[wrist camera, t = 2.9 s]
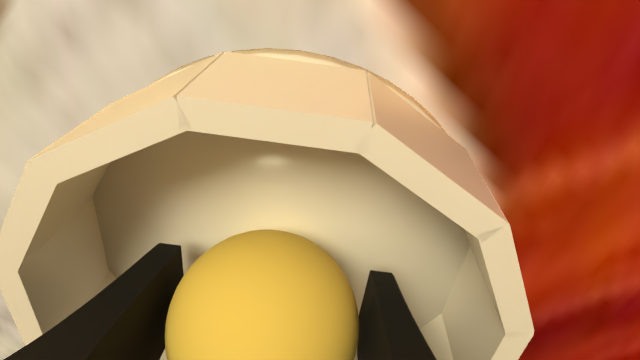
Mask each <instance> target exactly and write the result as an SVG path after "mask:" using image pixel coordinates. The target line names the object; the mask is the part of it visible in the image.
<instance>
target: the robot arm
mask: <svg viewBox="0 0 640 360" xmlns="http://www.w3.org/2000/svg"><path fill="white" fill-rule="evenodd" d="M183 276H184V273H183V262H182V251H181V245H173V244H165V243H158V244H157V245H156V246H154V247H153V248H152V249H151V250H150V251H149V252H147V253H146V254H145V255H144V256H143V257H142V258H140V259H139V260H138V261H137V262H136V263H135V264H133V265H132V266H131V267H130V268H129V269H127V270H126V271H125V272H124V273H123V274H121V275H120V276H119V277H118V278H117V279H115V280H114V281H113V282H112V283H110V284H109V285H108V286H107V287H106V288H104V289H103V290H102V291H101V292H99V293H98V294H97V295H96V296H94V297H93V298H92V299H91V300H89V301H88V302H87V303H85V304H84V305H83V306H81V307H80V308H79V309H77V310H76V311H75V312H73V313H72V314H71V315H69V316H68V317H66V318H65V319H64V320H62V321H61V322H60V323H58V324H57V325H56V326H54V327H53V328H51V329H50V330H48V331H47V332H45V333H44V334H43V335H41V336H40V337H38V338H37V339H35V340H34V341H32V342H31V343H29V344H28V345H26V346H24V347H23V348H21V349H20V350H18V351H17V352H15V353H14V354H12V355H11V356H9V357H7V358H6V359H4V360H160V358H161V356H162V354H163V351H164V349H165V324H166V319H167V314H168V309H169V305H170V303H171V300H172V298H173V295H174V293H175V290H176V288H177V286H178V284H179V283H180V281H181V279H182V278H183ZM358 317H359V339H358V345H357V359H358V360H437V359H436V357H435V356H434V354H433V352H432V351H431V349H430V347H429V345H428V344H427V342H426V340H425V338H424V336H423V334H422V333H421V331H420V329H419V327H418V325H417V323H416V321H415V319H414V318H413V316H412V314H411V312H410V310H409V307H408V305H407V303H406V301H405V299H404V297H403V295H402V293H401V290H400V288H399V286H398V284H397V281H396V279H395V276H394V275H393V274H392V273H389V272H381V271H373V270H370V273H369V277H368V281H367V284H366V288H365V292H364V296H363V300H362V304H361V308H360V312H359V316H358Z"/></svg>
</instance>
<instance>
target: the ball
mask: <svg viewBox="0 0 640 360" xmlns="http://www.w3.org/2000/svg"><path fill="white" fill-rule="evenodd" d="M358 339H359V317H358V309H357V304H356V300H355V297H354V293H353V290H352V288H351V286H350V283H349V281H348V279H347V277H346V275H345V274H344V272H343V271H342V269H341V268H340V267H339V265H338V264H337V263H336V261H335V260H334V259H333V258H332V257H331V256H330V255H329V254H328V253H327V252H326V251H324V250H323V249H322V248H321V247H319V246H318V245H316V244H315V243H314V242H312V241H310V240H308V239H306V238H304V237H302V236H299V235H297V234H293V233H290V232H285V231H280V230H269V229H267V230H254V231H248V232H244V233H240V234H237V235H234V236H231V237H229V238H227V239H225V240H223V241H221V242H219V243H218V244H216V245H214V246H213V247H211V248H210V249H209V250H207V251H206V252H205V253H204V254H202V255H201V256H200V257H199V258H198V259H197V260H196V261H195V262H194V263H193V264H192V266H191V267H190V268H189V269H188V270H187V272H186V273H185V275H184V276H183V278H182V279H181V281H180V283H179V284H178V286H177V288H176V290H175V293H174V295H173V298H172V300H171V303H170V305H169V309H168V314H167V319H166V324H165V349H166V357H167V360H354V359H355V355H356V350H357V345H358Z"/></svg>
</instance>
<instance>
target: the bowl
mask: <svg viewBox="0 0 640 360" xmlns="http://www.w3.org/2000/svg"><path fill="white" fill-rule="evenodd" d="M267 229H269V230H280V231H285V232H290V233H293V234H297V235H299V236H302V237H304V238H306V239H308V240H310V241H312V242H314V243H315V244H316V245H318V246H319V247H321V248H322V249H323V250H324V251H326V252H327V253H328V254H329V255H330V256H331V257H332V258H333V259H334V260H335V261H336V263H337V264H338V265H339V267H340V268H341V269H342V271H343V272H344V274H345V275H346V277H347V279H348V281H349V283H350V286H351V288H352V290H353V293H354V297H355V300H356V304H357V309H358V316H359V312H360V308H361V304H362V300H363V296H364V292H365V288H366V284H367V281H368V277H369V273H370V270H373V271H381V272H389V273H392V274H393V275H394V276H395V279H396V281H397V284H398V286H399V288H400V290H401V293H402V295H403V297H404V299H405V301H406V303H407V305H408V307H409V310H410V312H411V314H412V316H413V318H414V319H415V321H416V323H417V325H418V327H419V329H420V331H421V333H422V334H423V336H424V338H425V340H426V342H427V344H428V345H429V347H430V349H431V351H432V352H433V354H434V356H435V357H436V359H437V360H518V359H519V357H520V355H521V354H522V352H523V351H524V349H525V348H526V346H527V344H528V343H529V341H530V340H531V338H532V337H533V335H534V333H533V332H534V328H533V323H532V319H531V315H530V310H529V306H528V302H527V297H526V293H525V289H524V284H523V280H522V276H521V271H520V267H519V263H518V258H517V254H516V250H515V245H514V241H513V237H512V232H511V228H510V225H509V223H508V221H507V219H506V218H505V216H504V214H503V212H502V211H501V209H500V207H499V205H498V204H497V202H496V200H495V198H494V197H493V195H492V193H491V192H490V190H489V188H488V186H487V185H486V183H485V181H484V179H483V178H482V176H481V174H480V172H479V171H478V169H477V167H476V165H475V164H474V162H473V160H472V158H471V157H470V155H469V153H468V152H467V150H466V149H465V148H464V147H462V146H461V145H460V144H459V143H457V142H456V141H455V140H454V139H452V138H451V137H450V136H449V135H448V134H447V133H446V132H445V130H444V129H443V128H442V127H441V125H440V124H439V123H438V122H437V120H436V119H435V118H434V117H433V116H432V115H431V114H430V113H429V112H428V111H427V110H426V109H425V108H424V107H422V106H421V105H420V104H419V103H418V102H417V101H416V100H415V99H414V98H413V97H411V96H410V95H408V94H407V93H405V92H404V91H403V90H401V89H400V88H398V87H397V86H395V85H394V84H392V83H391V82H390V81H388V80H386V79H384V78H382V77H380V76H378V75H376V74H374V73H372V72H370V71H368V70H366V69H364V68H362V67H360V66H357V65H354V64H351V63H348V62H345V61H342V60H339V59H337V58H334V57H330V56H325V55H320V54H315V53H310V52H306V51H301V50H287V49H272V48H265V49H251V50H237V51H232V52H227V51H226V52H225V53H224V52H222V53H219V54H217V55H213V56H209V57H206V58H203V59H200V60H198V61H195V62H192V63H189V64H187V65H184V66H181V67H179V68H178V69H176V70H174V71H172V72H170V73H169V74H167V75H165V76H163V77H162V78H160V79H158V80H156V81H155V82H154V83H152V84H151V85H149V86H147V87H145V88H143V89H141V90H139V91H136V92H134V93H132V94H130V95H128V96H125V97H123V98H121V99H119V100H117V101H115V102H113V103H111V104H110V105H108V106H107V107H105V108H104V109H102V110H101V111H99V112H98V113H96V114H95V115H94V116H92V117H91V118H89V119H88V120H86V121H85V122H83V123H82V124H80V125H79V126H77V127H76V128H75V129H73V130H72V131H70V132H69V133H67V134H66V135H64V136H63V137H61V138H60V139H58V140H57V141H56V142H54V143H53V144H51V145H50V146H48V147H47V148H45V149H44V150H42V151H41V152H39V153H38V154H37V155H35V156H34V157H32V158H31V159H29V161H27V163H26V165H25V168H24V170H23V173H22V176H21V178H20V181H19V184H18V186H17V189H16V191H15V194H14V197H13V199H12V202H11V205H10V207H9V210H8V212H7V215H6V218H5V220H4V223H3V225H2V228H1V231H0V290H1V292H2V295H3V297H4V299H5V301H6V304H7V306H8V308H9V310H10V313H11V315H12V317H13V319H14V322H15V324H16V326H17V328H18V331H19V333H20V335H21V337H22V340H23V342H24V344H25V346H26V345H28V344H29V343H31V342H32V341H34V340H35V339H37V338H38V337H40V336H41V335H43V334H44V333H45V332H47V331H48V330H50V329H51V328H53V327H54V326H56V325H57V324H58V323H60V322H61V321H62V320H64V319H65V318H66V317H68V316H69V315H71V314H72V313H73V312H75V311H76V310H77V309H79V308H80V307H81V306H83V305H84V304H85V303H87V302H88V301H89V300H91V299H92V298H93V297H94V296H96V295H97V294H98V293H99V292H101V291H102V290H103V289H104V288H106V287H107V286H108V285H109V284H110V283H112V282H113V281H114V280H115V279H117V278H118V277H119V276H120V275H121V274H123V273H124V272H125V271H126V270H127V269H129V268H130V267H131V266H132V265H133V264H135V263H136V262H137V261H138V260H139V259H140V258H142V257H143V256H144V255H145V254H146V253H147V252H149V251H150V250H151V249H152V248H153V247H154V246H156V245H157V244H158V243H165V244H173V245H181V251H182V262H183V273H184V275H185V273H186V272H187V270H188V269H189V268H190V267H191V266H192V264H193V263H194V262H195V261H196V260H197V259H198V258H199V257H200V256H201V255H202V254H204V253H205V252H206V251H207V250H209V249H210V248H211V247H213V246H214V245H216V244H218V243H219V242H221V241H223V240H225V239H227V238H229V237H231V236H234V235H237V234H240V233H244V232H248V231H254V230H267ZM160 360H167V357H166V349H164V351H163V354H162V356H161V358H160ZM354 360H358V359H357V350H356V355H355V359H354Z"/></svg>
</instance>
